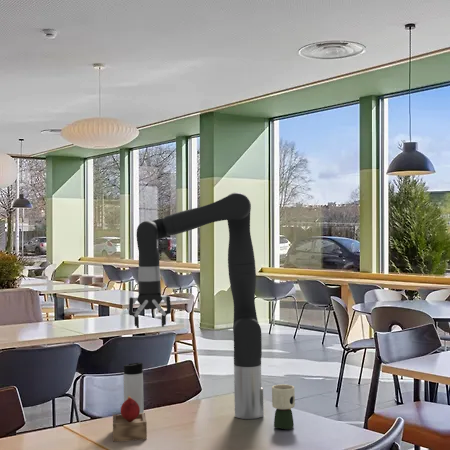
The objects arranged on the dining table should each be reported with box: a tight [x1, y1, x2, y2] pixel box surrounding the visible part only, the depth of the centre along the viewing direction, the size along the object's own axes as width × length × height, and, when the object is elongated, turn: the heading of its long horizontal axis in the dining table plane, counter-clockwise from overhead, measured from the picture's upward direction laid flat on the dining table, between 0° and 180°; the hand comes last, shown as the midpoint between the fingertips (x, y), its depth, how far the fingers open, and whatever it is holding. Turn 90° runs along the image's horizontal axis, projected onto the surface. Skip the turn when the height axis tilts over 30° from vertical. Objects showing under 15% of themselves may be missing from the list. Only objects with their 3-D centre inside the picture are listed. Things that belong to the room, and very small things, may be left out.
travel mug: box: [123, 362, 145, 413], centre depth 211 cm, size 6×7×20 cm
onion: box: [120, 396, 140, 422], centre depth 199 cm, size 6×6×8 cm
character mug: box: [271, 383, 296, 430], centre depth 204 cm, size 11×7×13 cm, turn 169°
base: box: [112, 412, 148, 443], centre depth 199 cm, size 10×10×5 cm
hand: (150, 327), depth 221 cm, fingers open, 8 cm apart
